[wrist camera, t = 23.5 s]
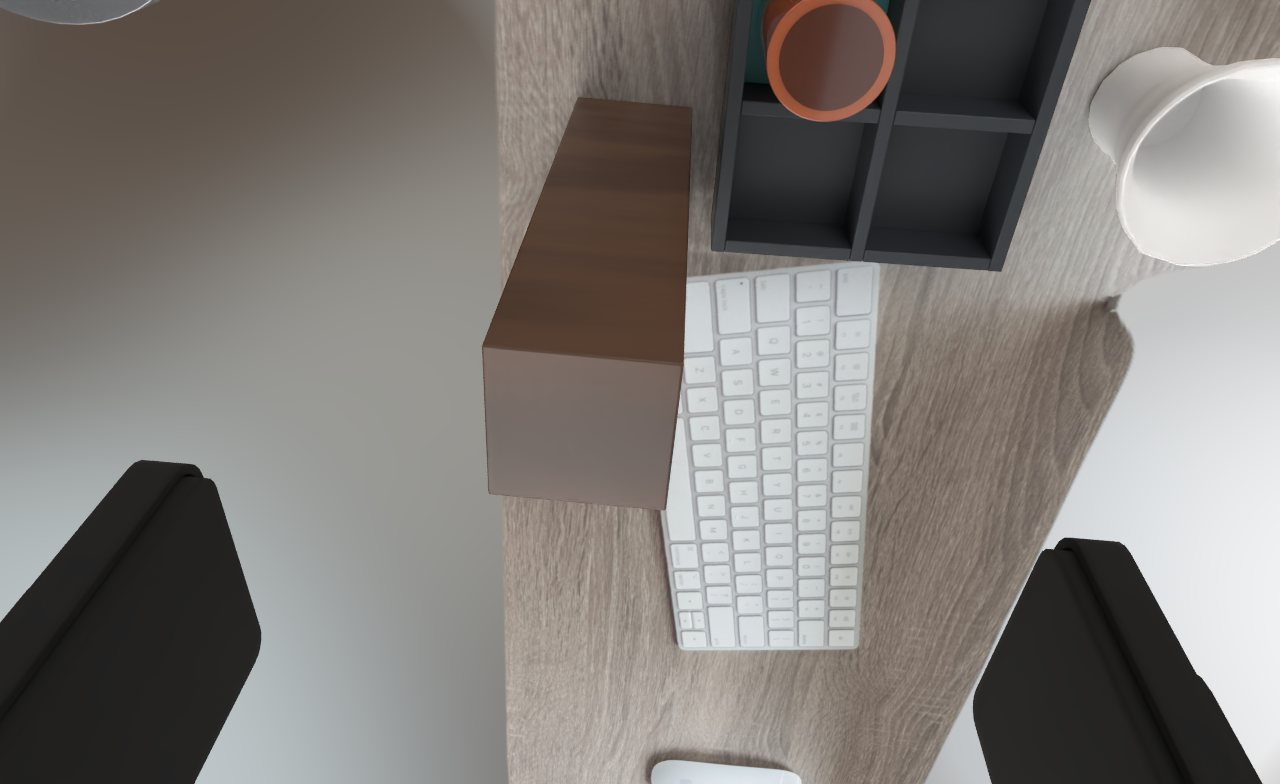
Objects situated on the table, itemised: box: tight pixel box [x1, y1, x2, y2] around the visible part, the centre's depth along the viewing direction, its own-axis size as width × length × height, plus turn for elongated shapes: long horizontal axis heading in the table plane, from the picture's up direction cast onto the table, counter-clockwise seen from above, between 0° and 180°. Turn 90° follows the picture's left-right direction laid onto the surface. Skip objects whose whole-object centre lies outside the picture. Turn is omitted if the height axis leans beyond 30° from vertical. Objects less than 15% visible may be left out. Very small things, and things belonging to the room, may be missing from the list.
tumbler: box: [757, 0, 896, 122], centre depth 38 cm, size 5×5×8 cm
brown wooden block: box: [482, 97, 692, 510], centre depth 37 cm, size 6×6×24 cm
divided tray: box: [711, 0, 1091, 272], centre depth 42 cm, size 15×15×4 cm
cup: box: [1088, 47, 1280, 267], centre depth 39 cm, size 9×9×10 cm
